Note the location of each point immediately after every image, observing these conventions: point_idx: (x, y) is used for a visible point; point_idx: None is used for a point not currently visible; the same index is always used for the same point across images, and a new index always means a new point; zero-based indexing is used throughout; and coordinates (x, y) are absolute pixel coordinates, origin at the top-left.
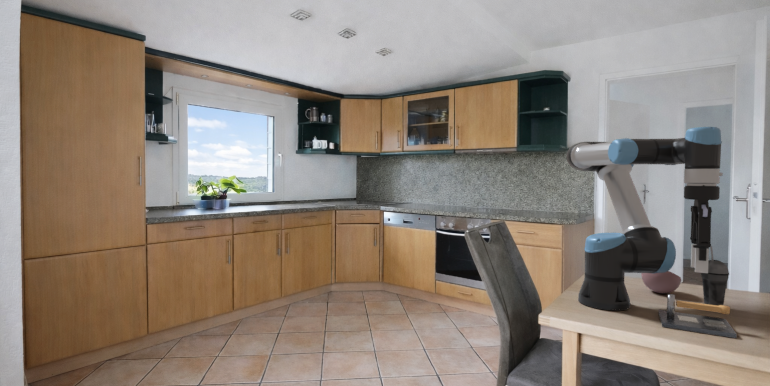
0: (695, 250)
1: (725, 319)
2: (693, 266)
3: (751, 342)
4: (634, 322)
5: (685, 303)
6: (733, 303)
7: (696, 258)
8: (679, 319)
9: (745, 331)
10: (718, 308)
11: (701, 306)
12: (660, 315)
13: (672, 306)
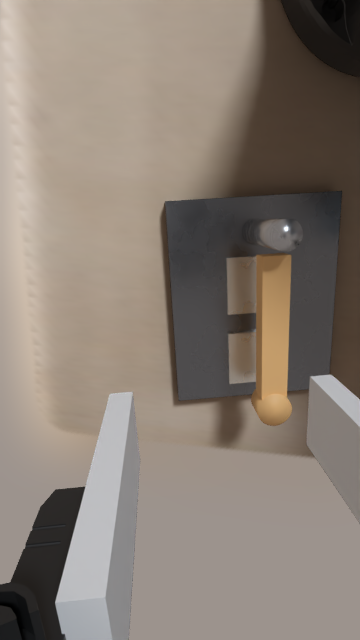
0: (92, 551)
1: None
2: (313, 393)
3: (165, 421)
4: (160, 102)
5: (261, 287)
6: None
7: (90, 478)
8: (230, 259)
9: None
10: (259, 390)
11: (260, 340)
12: (260, 196)
13: (255, 238)
